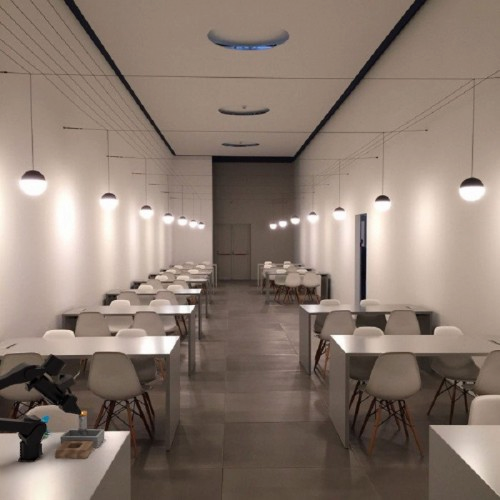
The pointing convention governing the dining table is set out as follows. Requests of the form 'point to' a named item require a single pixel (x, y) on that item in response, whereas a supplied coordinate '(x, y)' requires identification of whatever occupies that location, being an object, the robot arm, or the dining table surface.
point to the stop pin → (82, 424)
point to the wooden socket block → (74, 449)
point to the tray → (92, 435)
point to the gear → (44, 419)
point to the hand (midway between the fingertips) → (75, 410)
